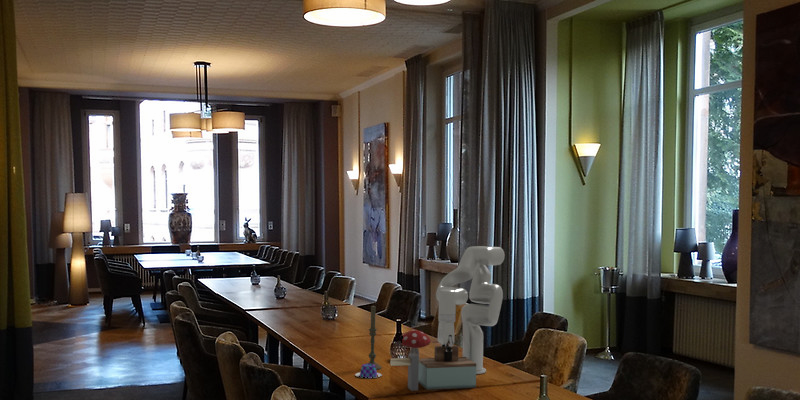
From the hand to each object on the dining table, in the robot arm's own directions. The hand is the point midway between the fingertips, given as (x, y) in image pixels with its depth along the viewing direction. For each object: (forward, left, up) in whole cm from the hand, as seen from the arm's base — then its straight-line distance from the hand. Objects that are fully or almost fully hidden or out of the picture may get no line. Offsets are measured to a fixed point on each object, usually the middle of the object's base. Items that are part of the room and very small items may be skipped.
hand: (446, 359), depth 322 cm
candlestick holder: (-36, -25, -11) cm, 45 cm away
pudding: (-21, -30, -11) cm, 38 cm away
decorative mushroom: (-51, 0, -11) cm, 52 cm away
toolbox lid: (+1, 0, -3) cm, 3 cm away
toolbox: (+1, -4, -11) cm, 11 cm away
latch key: (+6, -20, -1) cm, 21 cm away
